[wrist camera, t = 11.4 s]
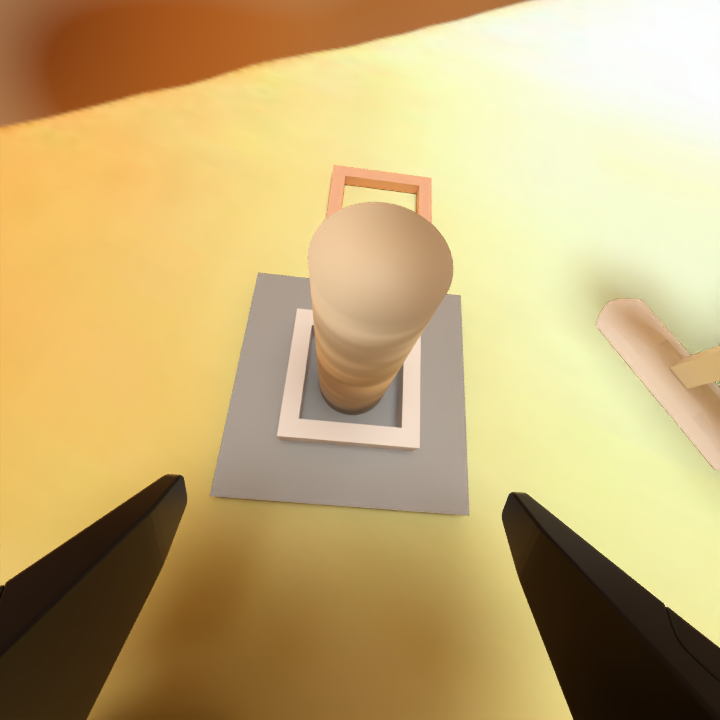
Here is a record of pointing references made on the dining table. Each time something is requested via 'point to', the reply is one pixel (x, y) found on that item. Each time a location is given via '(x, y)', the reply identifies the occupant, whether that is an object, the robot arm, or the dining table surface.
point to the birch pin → (372, 297)
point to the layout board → (343, 417)
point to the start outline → (379, 186)
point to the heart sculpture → (669, 371)
